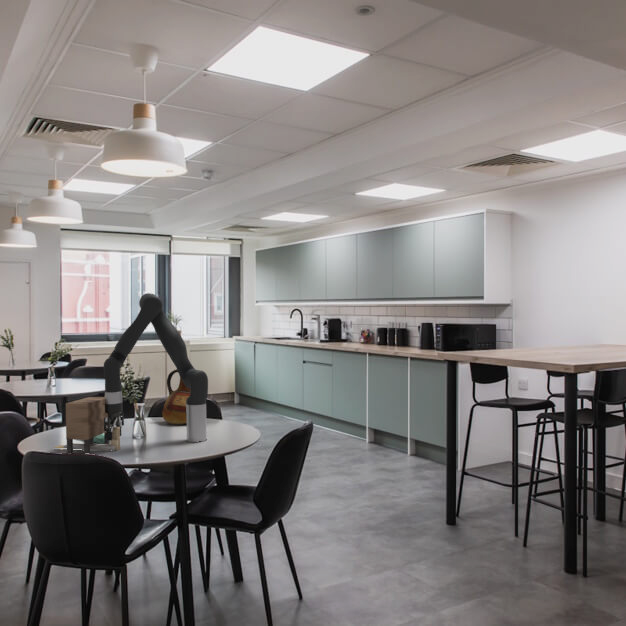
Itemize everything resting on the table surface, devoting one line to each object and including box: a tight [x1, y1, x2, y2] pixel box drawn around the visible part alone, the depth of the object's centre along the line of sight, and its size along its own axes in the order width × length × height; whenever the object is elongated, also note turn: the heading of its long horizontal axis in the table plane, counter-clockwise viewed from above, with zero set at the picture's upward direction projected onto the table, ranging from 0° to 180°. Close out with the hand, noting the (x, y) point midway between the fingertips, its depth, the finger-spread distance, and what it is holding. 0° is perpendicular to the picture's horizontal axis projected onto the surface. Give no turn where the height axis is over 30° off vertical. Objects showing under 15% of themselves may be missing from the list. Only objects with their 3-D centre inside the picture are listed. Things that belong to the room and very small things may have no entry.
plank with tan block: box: [64, 426, 121, 452], centre depth 277 cm, size 5×25×10 cm, turn 81°
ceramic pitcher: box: [161, 368, 191, 425], centre depth 340 cm, size 20×20×30 cm
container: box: [94, 433, 104, 444], centre depth 296 cm, size 6×6×25 cm
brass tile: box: [53, 444, 66, 448], centre depth 280 cm, size 5×5×2 cm
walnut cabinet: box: [65, 396, 111, 454], centre depth 277 cm, size 20×10×22 cm, turn 171°
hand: (114, 438), depth 276 cm, fingers open, 8 cm apart
